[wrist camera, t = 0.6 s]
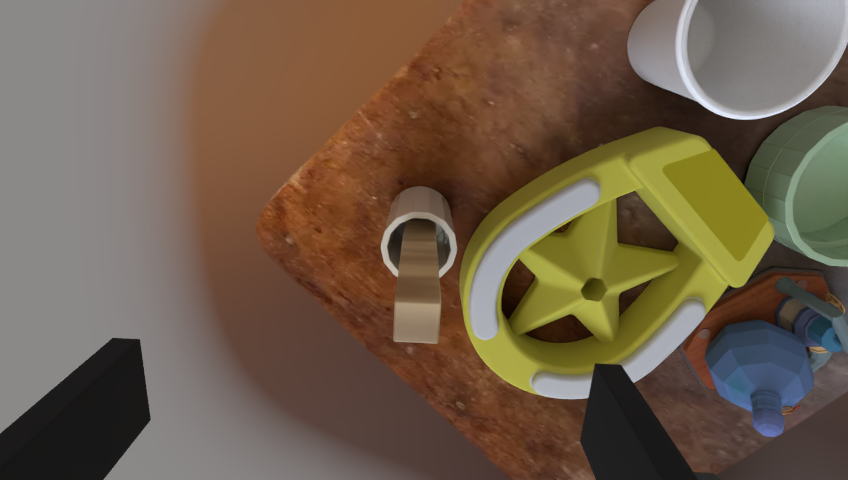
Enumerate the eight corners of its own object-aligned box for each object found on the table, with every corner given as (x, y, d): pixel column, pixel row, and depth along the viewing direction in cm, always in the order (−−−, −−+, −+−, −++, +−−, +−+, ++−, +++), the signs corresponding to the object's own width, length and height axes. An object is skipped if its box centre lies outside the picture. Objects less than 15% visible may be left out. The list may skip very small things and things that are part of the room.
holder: (389, 184, 37) (381, 210, 30) (453, 187, 37) (460, 214, 30) (387, 243, 38) (379, 281, 32) (449, 247, 38) (454, 284, 32)
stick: (406, 204, 37) (394, 300, 22) (434, 205, 37) (441, 303, 22) (405, 230, 37) (393, 342, 22) (432, 231, 37) (438, 344, 22)
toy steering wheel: (763, 245, 38) (811, 271, 33) (551, 406, 43) (567, 448, 38) (632, 83, 34) (665, 85, 30) (415, 279, 39) (414, 308, 34)
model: (711, 405, 43) (785, 492, 34) (663, 325, 40) (729, 397, 32) (849, 333, 41) (967, 406, 32) (807, 244, 38) (921, 297, 29)
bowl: (760, 101, 35) (813, 106, 30) (902, 109, 35) (977, 115, 30) (724, 238, 38) (766, 262, 33) (854, 245, 38) (915, 270, 33)
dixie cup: (704, 118, 35) (807, 136, 26) (590, 90, 35) (652, 99, 25) (755, -12, 32) (892, -45, 23) (632, -44, 32) (720, -91, 22)
